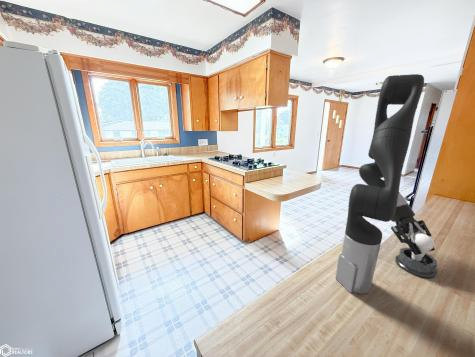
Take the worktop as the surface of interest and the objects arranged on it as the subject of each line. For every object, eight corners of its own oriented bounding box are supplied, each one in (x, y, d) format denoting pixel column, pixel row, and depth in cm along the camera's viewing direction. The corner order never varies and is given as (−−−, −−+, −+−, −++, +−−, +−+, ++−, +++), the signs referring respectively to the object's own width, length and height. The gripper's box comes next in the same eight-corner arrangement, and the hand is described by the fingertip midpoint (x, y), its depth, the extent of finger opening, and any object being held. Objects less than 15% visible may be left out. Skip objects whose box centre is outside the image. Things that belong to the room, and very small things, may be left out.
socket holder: (422, 281, 62) (425, 270, 60) (387, 259, 72) (390, 249, 70) (444, 274, 64) (448, 263, 63) (408, 254, 75) (411, 244, 73)
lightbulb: (432, 268, 64) (441, 240, 61) (411, 266, 65) (419, 238, 62) (419, 256, 70) (427, 230, 67) (400, 254, 71) (407, 228, 68)
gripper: (391, 205, 67) (421, 255, 60) (419, 201, 71) (451, 246, 63) (374, 212, 74) (400, 258, 66) (400, 208, 77) (428, 250, 70)
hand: (425, 252), depth 65 cm, fingers closed on lightbulb, 6 cm apart
